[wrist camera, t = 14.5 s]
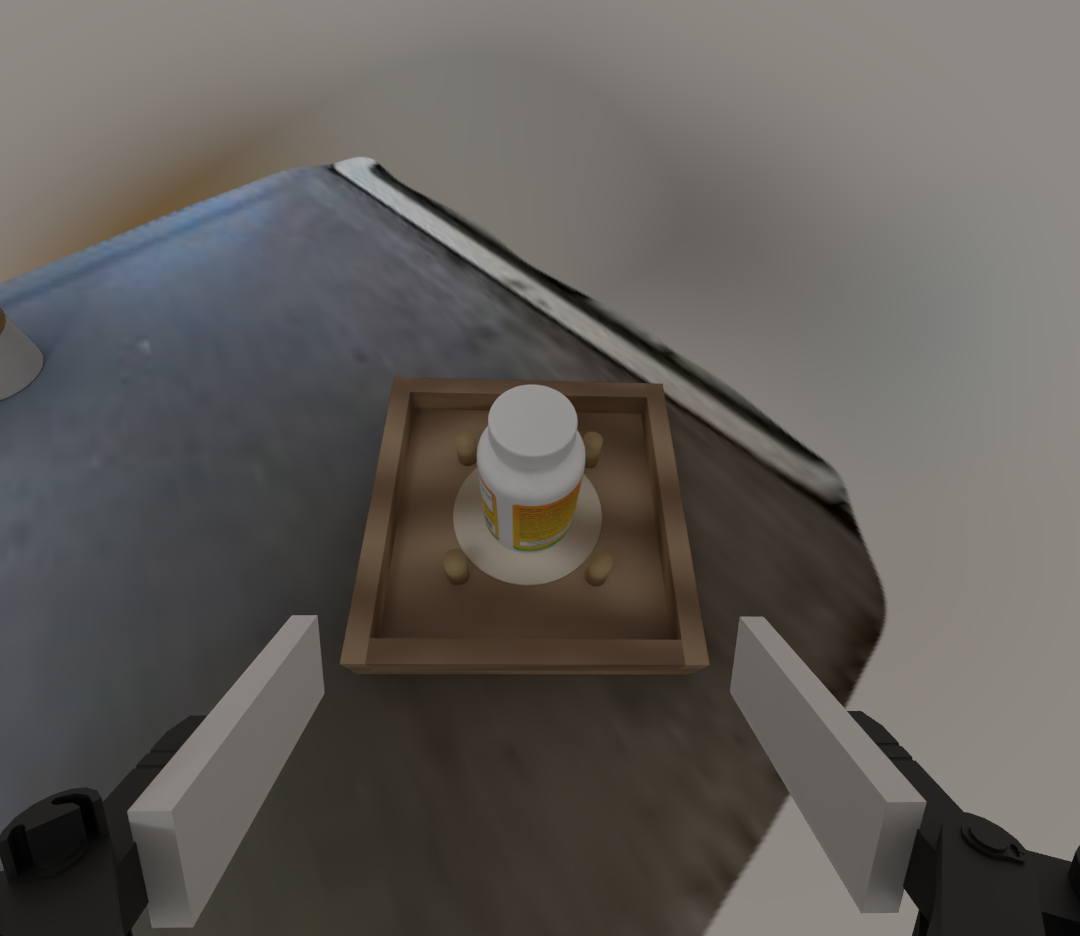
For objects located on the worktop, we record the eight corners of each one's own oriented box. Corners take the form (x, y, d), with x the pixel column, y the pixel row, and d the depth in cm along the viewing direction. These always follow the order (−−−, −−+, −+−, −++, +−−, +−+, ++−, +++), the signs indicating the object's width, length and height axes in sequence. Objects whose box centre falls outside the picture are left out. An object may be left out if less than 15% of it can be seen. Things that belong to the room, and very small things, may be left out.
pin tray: (691, 675, 27) (713, 662, 24) (356, 674, 27) (335, 661, 24) (652, 411, 37) (664, 377, 34) (402, 405, 36) (392, 371, 33)
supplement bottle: (588, 499, 31) (614, 401, 23) (546, 572, 29) (558, 491, 20) (513, 461, 32) (512, 355, 24) (466, 528, 30) (447, 434, 22)
